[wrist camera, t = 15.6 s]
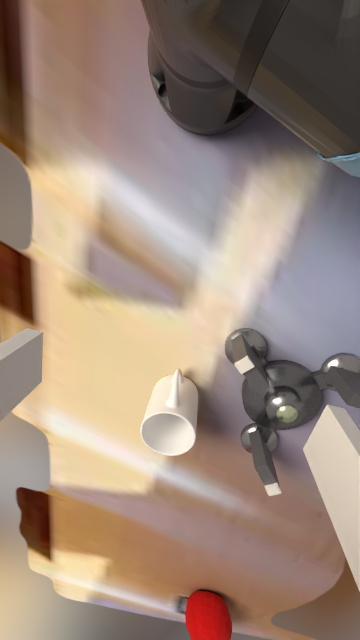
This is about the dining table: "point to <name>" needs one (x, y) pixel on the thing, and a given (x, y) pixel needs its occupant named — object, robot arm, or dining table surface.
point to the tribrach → (284, 390)
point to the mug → (171, 416)
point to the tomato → (207, 617)
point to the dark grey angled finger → (264, 463)
